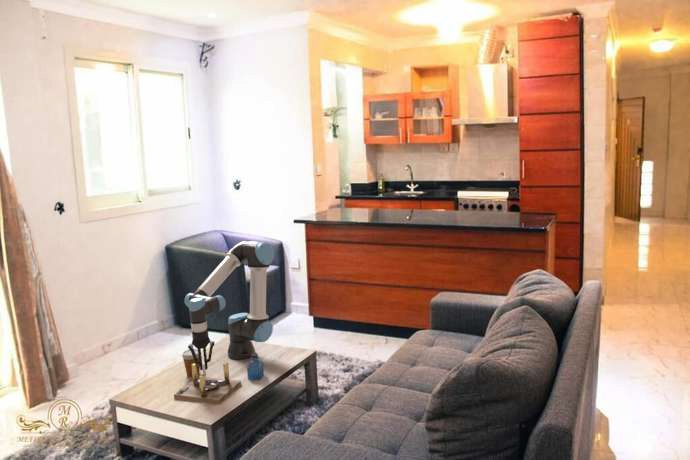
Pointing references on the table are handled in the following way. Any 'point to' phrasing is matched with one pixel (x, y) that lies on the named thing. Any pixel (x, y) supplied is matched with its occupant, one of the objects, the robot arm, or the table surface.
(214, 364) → the table surface
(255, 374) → the perfume bottle
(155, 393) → the table surface
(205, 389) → the capstan
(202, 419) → the table surface
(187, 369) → the disposable coffee cup
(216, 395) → the stand
